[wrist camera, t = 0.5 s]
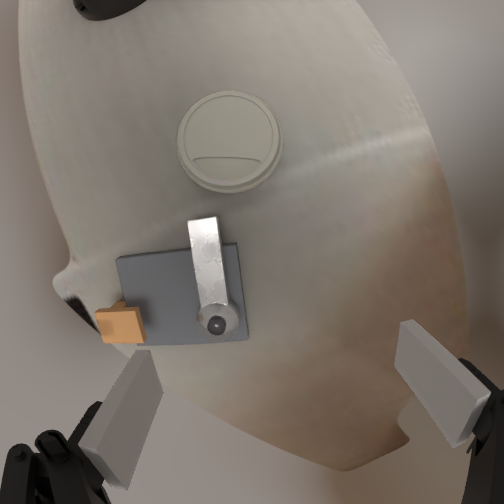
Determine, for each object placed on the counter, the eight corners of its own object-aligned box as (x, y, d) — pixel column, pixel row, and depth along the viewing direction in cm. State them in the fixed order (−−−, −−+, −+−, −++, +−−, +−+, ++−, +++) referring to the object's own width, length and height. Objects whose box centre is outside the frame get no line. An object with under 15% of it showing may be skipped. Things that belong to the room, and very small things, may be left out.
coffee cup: (184, 166, 31) (149, 154, 20) (226, 107, 30) (215, 65, 18) (244, 207, 32) (242, 216, 21) (287, 147, 31) (308, 124, 19)
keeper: (115, 294, 34) (94, 312, 28) (152, 291, 34) (134, 310, 28) (122, 321, 35) (104, 342, 29) (158, 320, 35) (143, 343, 29)
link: (241, 330, 34) (241, 344, 30) (203, 333, 34) (198, 347, 30) (226, 214, 31) (223, 217, 27) (183, 220, 31) (176, 223, 27)
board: (120, 256, 33) (115, 259, 32) (236, 242, 33) (236, 245, 32) (140, 340, 36) (137, 345, 34) (248, 334, 36) (248, 339, 34)
